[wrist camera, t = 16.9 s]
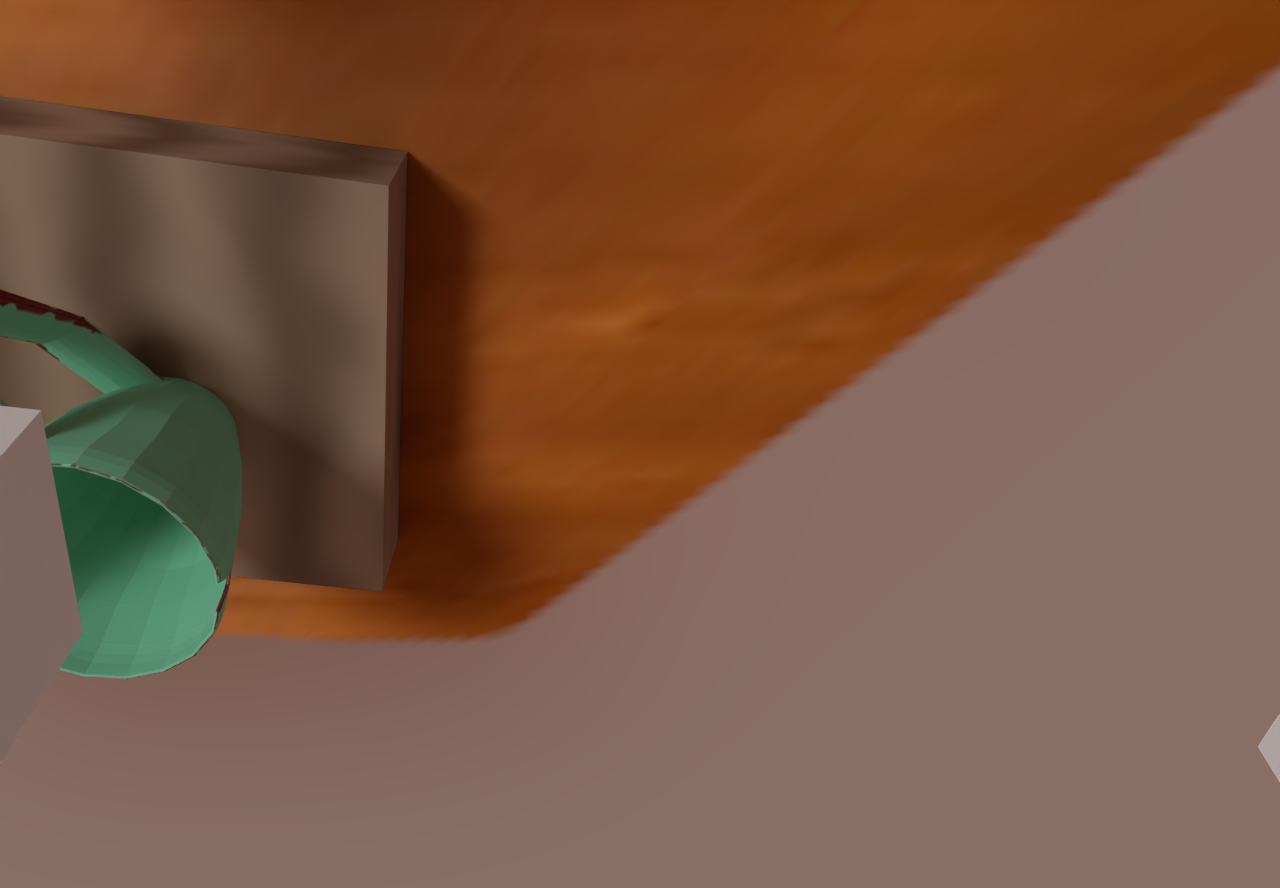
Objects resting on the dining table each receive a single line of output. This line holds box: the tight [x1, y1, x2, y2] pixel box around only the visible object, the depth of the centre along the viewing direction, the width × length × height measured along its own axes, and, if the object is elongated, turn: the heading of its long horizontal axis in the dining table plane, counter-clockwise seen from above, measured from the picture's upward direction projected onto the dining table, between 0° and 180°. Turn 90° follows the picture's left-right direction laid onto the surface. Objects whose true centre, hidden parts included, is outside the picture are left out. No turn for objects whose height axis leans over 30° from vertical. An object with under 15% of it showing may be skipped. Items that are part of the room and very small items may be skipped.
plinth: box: [0, 96, 408, 592], centre depth 47 cm, size 20×20×4 cm
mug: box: [0, 289, 242, 679], centre depth 41 cm, size 15×10×10 cm
